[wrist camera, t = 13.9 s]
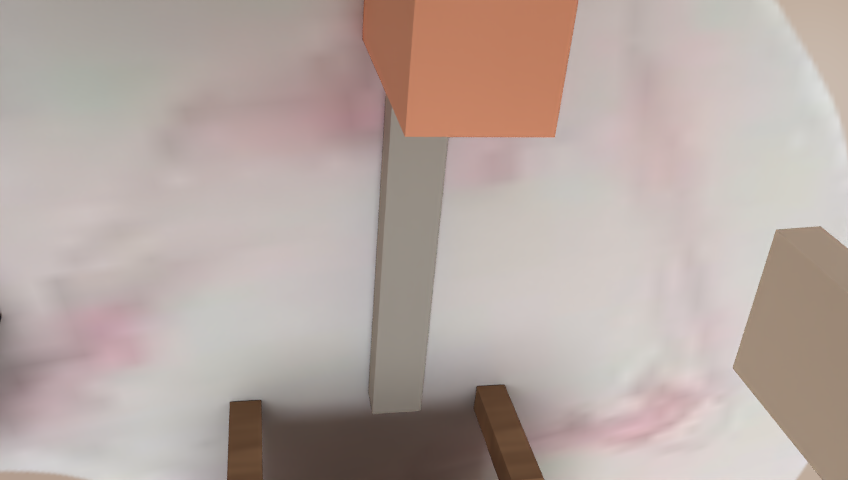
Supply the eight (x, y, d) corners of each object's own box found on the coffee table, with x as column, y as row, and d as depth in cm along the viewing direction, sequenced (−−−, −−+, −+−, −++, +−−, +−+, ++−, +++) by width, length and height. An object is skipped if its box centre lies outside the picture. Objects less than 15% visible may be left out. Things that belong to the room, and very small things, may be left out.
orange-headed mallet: (367, -70, 29) (415, -8, 20) (485, -63, 30) (578, -1, 21) (347, 393, 40) (373, 560, 31) (434, 388, 41) (483, 549, 32)
